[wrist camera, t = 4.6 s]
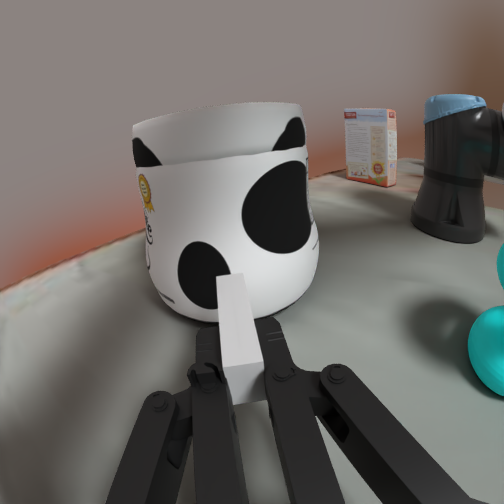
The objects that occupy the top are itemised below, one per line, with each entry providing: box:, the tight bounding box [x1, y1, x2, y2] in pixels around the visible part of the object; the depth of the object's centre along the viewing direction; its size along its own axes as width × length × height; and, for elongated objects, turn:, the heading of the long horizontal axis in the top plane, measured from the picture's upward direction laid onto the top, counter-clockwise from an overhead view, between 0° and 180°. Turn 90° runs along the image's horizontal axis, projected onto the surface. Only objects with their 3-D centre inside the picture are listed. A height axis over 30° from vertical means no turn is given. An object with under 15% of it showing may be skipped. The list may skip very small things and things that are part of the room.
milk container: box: [132, 102, 319, 324], centre depth 26 cm, size 17×17×18 cm
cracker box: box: [344, 108, 397, 187], centre depth 65 cm, size 14×6×21 cm, turn 34°
